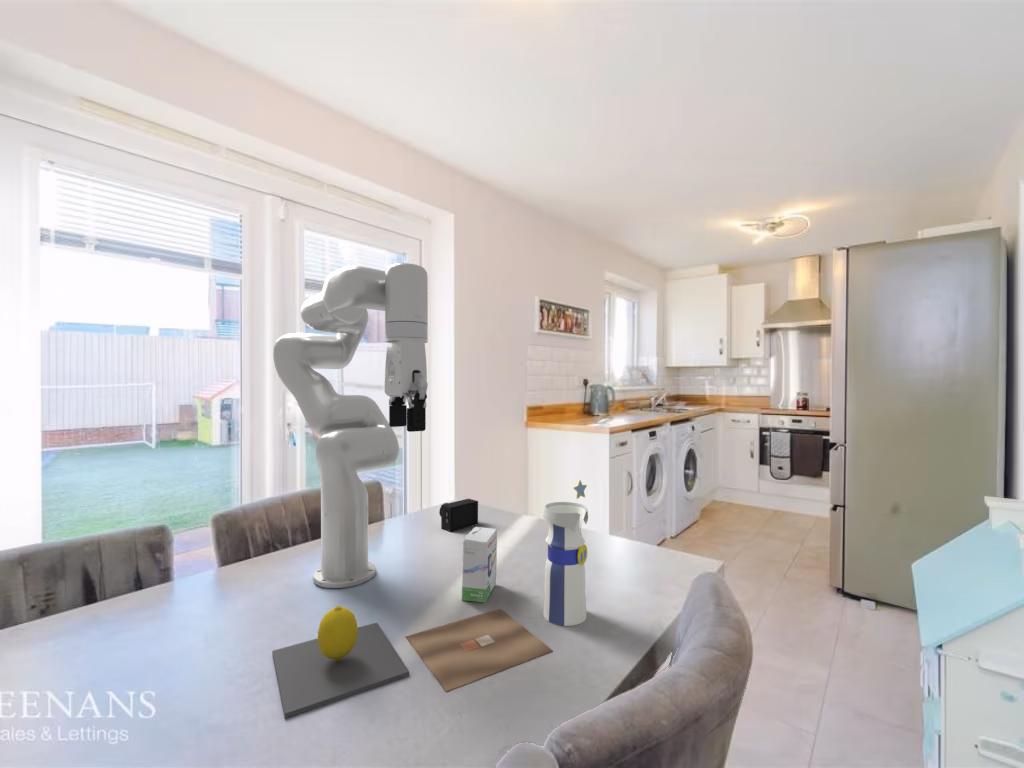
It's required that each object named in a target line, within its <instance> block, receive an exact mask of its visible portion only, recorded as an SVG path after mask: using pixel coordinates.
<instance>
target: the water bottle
mask: <svg viewBox="0 0 1024 768" xmlns="http://www.w3.org/2000/svg"><path fill="white" fill-rule="evenodd" d="M577 483H578V484H577V485H575V486H574V487H573V489H574V491H576V500H578V499H580V498H581V497H583V498H586V493H585V490H586V489H587V486H588V485H587V484H583V483H582V480H581V479H579V481H578V482H577ZM588 511H589V510H588V508H587V506H586V505H584V504H582V503H577V502H571V501H556V502H555V501H554V502H550V503H547V504H546V505H544V509H543V512H542V517H543V519H544V520H545V521H547V522H548V528H549V529H548V535H547V536H546V538H545V543H546V544H547V558H546V561H545V567H544V599H543V600H544V601H543V613H542V614H543V617H544V619H545V620H546V621H548V622H550V623H551V624H553V625H557V626H562V627H563V626H564V627H570V626H571V627H572V626H577V625H580V624H582V623H584V622H585V621H586V619H587V601H586V600H587V599H586V567H585V566H586V565H585V563H586V562H587V557H588V548H587V545H586V544H585V543H586V542H585V541H586V540H585V539H584V537H583V535H582V525H583V523H585V525H587V523H588V520H589V512H588Z"/></svg>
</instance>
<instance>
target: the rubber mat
mask: <svg viewBox="0 0 1024 768" xmlns="http://www.w3.org/2000/svg"><path fill="white" fill-rule="evenodd" d="M357 627H358V626H357ZM271 655H272V660H273V665H274V669H275V674H276V681H277V685H278V690H279V695H280V701H281V706H282V710H283V715H284V719H287V718H291V717H292V716H296V715H299V714H301V713H305V712H307V711H310V710H313V709H316V708H319V707H322V706H324V705H327V704H331V703H333V702H336V701H339V700H343V699H346V698H348V697H351V696H353V695H356V694H359V693H362V692H366V691H368V690H371V689H374V688H377V687H380V686H383V685H385V684H388V683H392V682H395V681H398V680H401V679H403V678H406V677H409V676H410V671H409V669H408V667H407V666H406V664H405V662H404V661H403V660H402V658H401V657H400V655H399V654H398V652H397V651H396V649H395V648H394V646H393V645H392V643H391V642H390V640H389V638H388V637H387V635H386V634H385V633H384V631H383V629H382V628H381V626H380V625H379V623H378V622H374V623H370V624H366V625H363V626H359V627H358V634H357V640H356V643H355V645H354V647H353V649H352V650H351V651H350V652H349V653H348V654H347V655H346V656H344V657H342V658H341V659H340V660H339V661H336V660H335V659H330V658H328V657H326V656H325V655H324V654H323V653H322V652H321V650H320V648H319V645H318V637H317V638H315V639H311V640H307V641H304V642H299V643H296V644H292V645H288V646H284V647H281V648H277V649H273V650H272V654H271Z"/></svg>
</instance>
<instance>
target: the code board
mask: <svg viewBox="0 0 1024 768" xmlns="http://www.w3.org/2000/svg"><path fill="white" fill-rule="evenodd" d="M405 639H407V641H408V643H409V644H410V645H411V647H412V648H413V649H414V651H415V652H416V653H417V655H418V656H419V657H420V659H421V661H422V662H423V663H424V664H425V666H426V667H427V668H428V670H429V671H430V672H431V674H432V675H433V676H434V678H435V680H436V681H437V682H438V684H439V685H440V686H441V688H442V689H443V690H444V692H445V693H448V692H450V691H453V690H455V689H458V688H460V687H463V686H466V685H469V684H473V682H476V681H480V680H481V679H485V678H487V677H490V676H493V675H495V674H498V673H500V672H503V671H505V670H509V669H511V668H513V667H516V666H518V665H522V664H524V663H526V662H530V661H531V660H535V659H537V658H539V657H543V656H545V655H547V654H550V653H553V652H554V651H553V649H552V648H551V647H549V646H548V645H547V644H546V643H544V642H543V641H541V640H540V638H538V637H537V636H536V635H534V634H533V633H532V632H531V631H529V630H528V629H527V628H526V627H524V626H523V625H522V624H521V623H519V622H518V621H517V620H516V619H514V618H513V617H512V616H511V615H509V614H508V613H507V612H506V611H504V609H503V608H496V609H493V610H490V611H487V612H484V613H479V614H477V615H473V616H470V617H466V618H464V619H460V620H457V621H453V622H449V623H446V624H443V625H439V626H436V627H433V628H429V629H426V630H422V631H419V632H416V633H413V634H409V635H406V636H405Z"/></svg>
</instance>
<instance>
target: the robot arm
mask: <svg viewBox="0 0 1024 768" xmlns="http://www.w3.org/2000/svg"><path fill="white" fill-rule="evenodd" d="M428 278H429V277H428V272H427V270H426V269H425V268H424V266H421V265H418V264H415V263H407V262H399V263H394V264H393V263H392V264H390V265H389V266H387V268H386V270H381V269H377V268H372V267H366V266H361V265H360V266H359V265H347V266H343V267H341V268H338V269H336V270H334V271H332V272H330V273H329V274H328V275H327V278H325V281H324V284H323V286H322V291H321V292H320V293H316V294H315V295H313V296H310V297H309V298H308V299H306V300H305V301H304V302H303V304H302V305H301V309H300V315H301V319H302V321H303V322H304V324H305V325H306V326H307V327H309V328H310V329H312V330H314V331H317V332H322V333H323V332H324V333H337V334H336V335H335V334H334V335H333V334H321V333H320V334H319V333H309V332H308V333H305V332H296V333H295V332H293V333H287V334H284V335H282V336H280V337H279V338H278V339H277V340H276V341H275V343H274V346H273V351H272V352H273V354H272V356H273V363H274V367H275V370H276V372H277V373H276V374H277V375H278V377H279V379H280V380H281V382H282V383H283V385H284V387H286V389H287V390H288V391H289V392H290V393H291V394H292V396H293V397H294V399H295V400H296V403H297V405H298V407H299V409H300V411H301V413H302V415H303V418H304V419H305V421H306V424H307V425H308V427H309V428H310V430H311V432H312V433H313V434H314V435H315V436H317V437H319V438H318V440H317V442H316V444H315V455H316V463H317V467H318V473H319V480H320V542H321V543H320V554H321V555H320V562H321V563H320V565H321V566H320V567H319V568H318V569H316V571H315V572H313V575H312V581H313V583H314V584H315V585H316V586H319V587H322V588H327V589H343V588H344V589H345V588H350V587H355V586H357V585H360V584H364V583H366V582H367V581H370V580H372V578H373V577H374V576H375V575H376V570H377V569H376V565H375V564H374V563H372V562H370V561H369V493H368V488H367V487H366V485H365V484H364V482H363V481H362V480H361V478H360V477H359V475H358V473H361V472H366V471H372V470H379V469H383V468H388V467H390V466H392V465H393V464H394V463H395V462H396V461H397V459H398V457H399V454H400V445H399V440H398V438H397V435H396V433H395V431H394V430H393V428H397V427H398V428H400V427H406V431H407V432H408V433H409V432H410V433H412V432H424V431H425V430H426V424H427V421H426V419H427V417H426V416H427V415H426V408H427V398H428V395H427V390H428V381H427V380H428V377H427V373H428V371H427V368H428V367H427V353H426V352H427V351H426V343H427V344H428V342H429V339H428V338H429V337H428V336H429V334H428V333H429V332H428V331H429V330H428V329H429V327H428V319H429V318H428V317H429V314H428V313H429V309H428V308H429V307H428V305H429V304H428V303H429V297H428V296H429V295H428V294H429V291H428V288H429V287H428V286H429V285H428V283H429V279H428ZM368 310H373V311H374V310H375V311H380V312H384V313H385V315H384V329H385V330H384V331H385V332H384V333H385V334H384V335H385V336H384V342H385V343H387V346H386V355H385V368H384V394H385V395H386V396H388V397H389V399H388V405H389V406H388V411H389V413H388V419H389V421H388V419H387V418H386V416H385V415H384V413H383V411H382V410H381V408H380V406H379V405H378V404H377V402H376V401H375V400H373V398H371V397H369V396H366V395H360V394H358V395H357V394H348V395H347V394H339V393H338V392H337V391H336V389H334V387H333V384H332V383H331V382H330V381H329V379H327V378H326V377H325V376H324V375H323V374H321V372H318V371H316V370H317V369H319V370H320V369H321V370H339V369H340V370H341V369H344V368H347V366H349V364H350V363H351V361H352V360H353V357H354V356H355V353H356V351H357V349H358V347H359V344H360V343H361V341H362V338H363V335H364V334H365V332H366V329H367V327H368V322H369V313H368ZM314 369H316V370H314ZM406 401H407V404H405V403H406ZM407 405H408V407H407Z"/></svg>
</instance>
